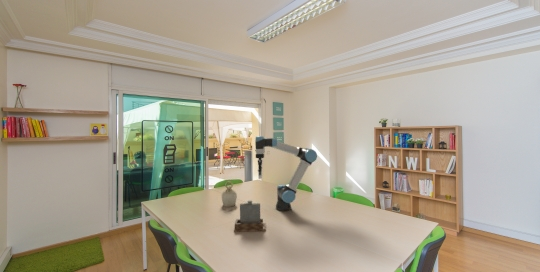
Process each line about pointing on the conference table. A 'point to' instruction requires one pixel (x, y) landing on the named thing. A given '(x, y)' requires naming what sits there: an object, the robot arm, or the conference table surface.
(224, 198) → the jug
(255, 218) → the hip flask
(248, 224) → the u rest
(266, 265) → the conference table surface
